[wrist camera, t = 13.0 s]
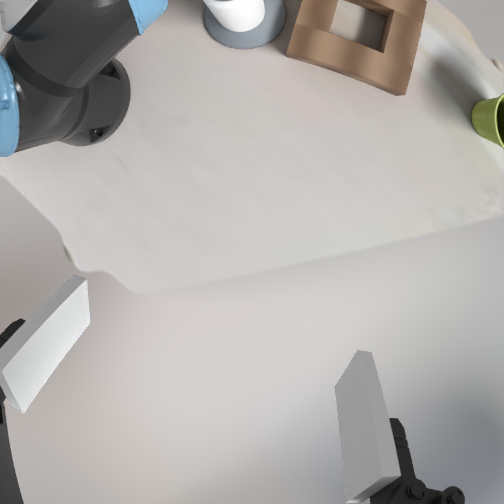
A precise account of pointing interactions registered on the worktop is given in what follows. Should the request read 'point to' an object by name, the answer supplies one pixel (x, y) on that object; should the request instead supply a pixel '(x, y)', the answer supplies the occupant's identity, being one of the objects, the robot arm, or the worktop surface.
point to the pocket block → (354, 54)
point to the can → (237, 13)
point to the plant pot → (490, 119)
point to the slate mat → (255, 36)
